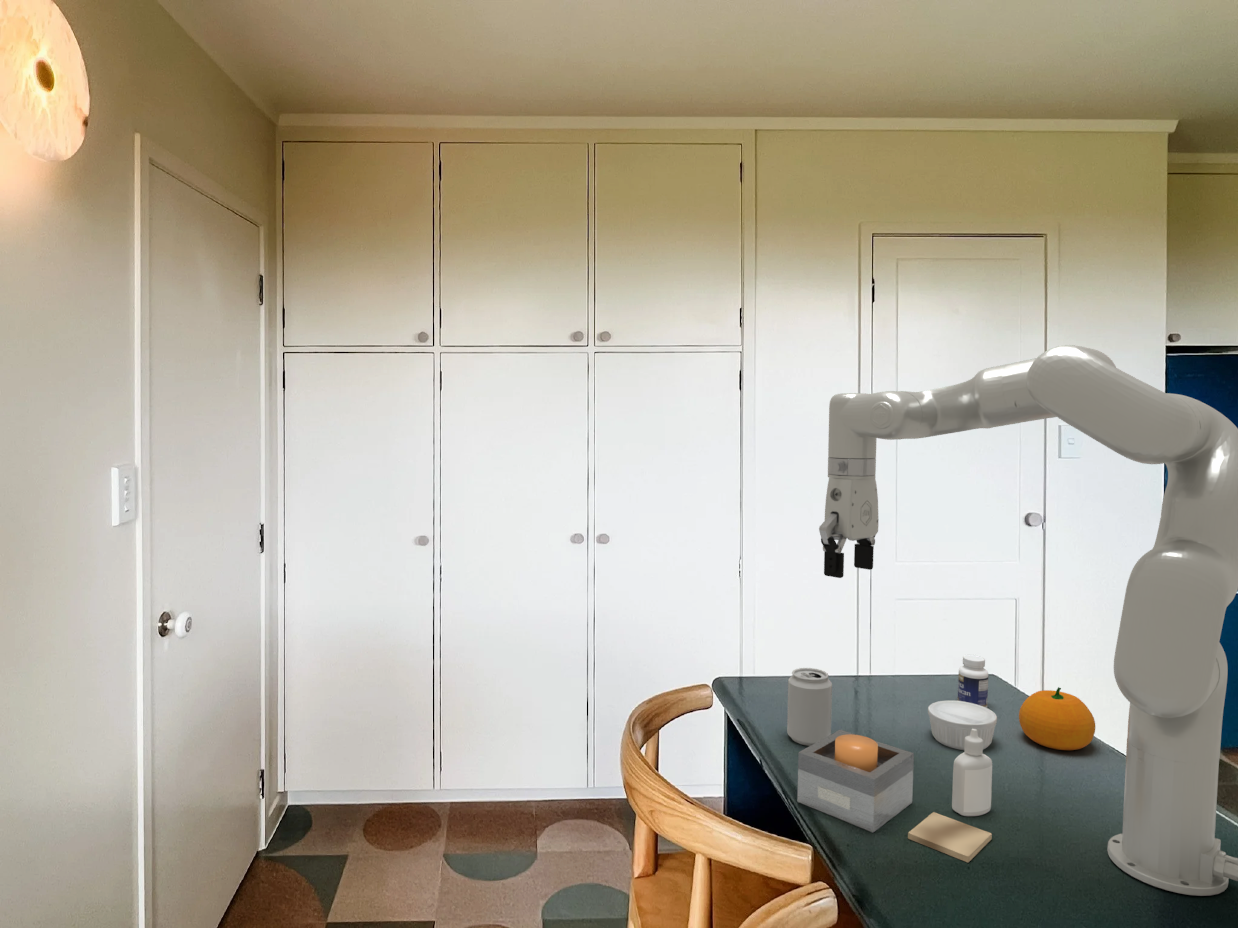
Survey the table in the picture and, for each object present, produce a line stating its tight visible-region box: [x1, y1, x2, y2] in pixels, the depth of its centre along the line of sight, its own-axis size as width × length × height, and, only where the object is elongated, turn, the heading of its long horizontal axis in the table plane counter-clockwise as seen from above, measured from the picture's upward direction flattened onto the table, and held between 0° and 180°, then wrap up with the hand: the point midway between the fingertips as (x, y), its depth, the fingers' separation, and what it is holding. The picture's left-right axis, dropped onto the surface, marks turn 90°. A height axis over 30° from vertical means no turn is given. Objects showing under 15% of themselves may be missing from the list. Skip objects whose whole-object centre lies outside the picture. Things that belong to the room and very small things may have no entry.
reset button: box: [835, 734, 878, 772], centre depth 116 cm, size 6×6×6 cm
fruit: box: [1018, 686, 1096, 751], centre depth 138 cm, size 12×12×10 cm
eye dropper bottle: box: [951, 729, 993, 817], centre depth 114 cm, size 4×6×12 cm
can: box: [786, 667, 833, 747], centre depth 138 cm, size 8×8×12 cm
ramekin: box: [927, 700, 998, 751], centre depth 138 cm, size 11×11×5 cm
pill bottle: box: [956, 654, 989, 708], centre depth 154 cm, size 5×5×10 cm
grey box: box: [797, 729, 915, 833], centre depth 116 cm, size 12×12×8 cm
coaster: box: [907, 811, 993, 863], centre depth 106 cm, size 8×8×1 cm
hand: (848, 572), depth 130 cm, fingers open, 9 cm apart
